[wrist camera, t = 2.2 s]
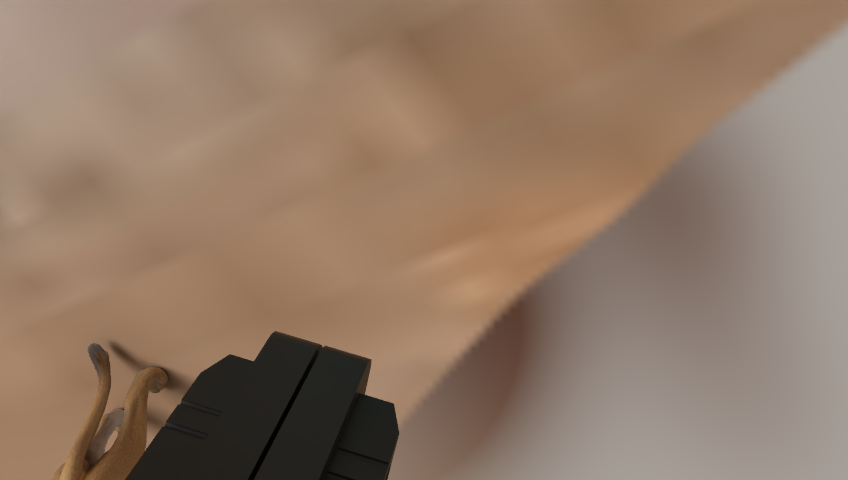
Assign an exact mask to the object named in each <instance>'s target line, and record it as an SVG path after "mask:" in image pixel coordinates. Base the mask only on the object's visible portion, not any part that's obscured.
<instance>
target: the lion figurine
mask: <svg viewBox="0 0 848 480" xmlns="http://www.w3.org/2000/svg"><path fill="white" fill-rule="evenodd" d="M88 353H89V355H90V358H91V360H92V362H93V364H94V366H95V369H96V371H97V373H98V377H99V388H98V393H97V395H96V398H95V401H94V403H93V405H92V408H91V410H90V412H89V415H88V417H87V419H86V421H85V423H84V425H83V427H82V429H81V431H80V433H79V435H78V437H77V438H76V440H75V443H74V445H73V447H72V449H71V451H70V454H69V456H68V459H67V461H66V462H65V463H64V464H63V465H61V466H60V467H59V469H58V470H57V472H56V473H55V475H54V476H53V478H52V480H125V479H126V477H127V476H128V475H129V473H130V472H131V470H132V469H133V468H134V466H135V465H136V463H137V462H138V461H139V459H140V458H141V456H142V455H143V453H144V451H145V447H146V436H147V428H146V425H147V414H146V411H147V399H148V392H149V391H150V392H152V393H158V392H159V391H160V390H162V389H163V388H164V387H165V386H166V383H167V381H168V377H167V375H166V373H165V372H164V371H163V370H162V369H160V368H157V367H149V368H145V369H143V370H141V371H140V372H139V373H138V374H137V375H136V377H135V379H134V381H133V383H132V385H131V387H130V390H129V392H128V393H127V396H126V398H125V401H124V410H122V409H113V410H112V411H111V412H110V413H108V414H105V415H104V416H103V417H102V415H103V413H104V410H105V407H106V403H107V400H108V396H109V392H110V388H111V375H110V362H109V356H108V352H106V351H104V350H103V349H102V347H101V346H100V345H98V344H96V343H93V344H90V345H89V347H88ZM114 430H115V431H117V432H119V433H118V436H117V438H116V440H115V442H114V444H113V446H112V447H111V449H110V450H109V451H107V452H106V453H104V452H105V447H106V443H107V441H108V439H109V437H110V435H111V434H112V433H113V431H114Z"/></svg>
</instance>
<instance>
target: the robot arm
mask: <svg viewBox="0 0 848 480" xmlns="http://www.w3.org/2000/svg"><path fill="white" fill-rule="evenodd" d="M370 368H371V359H368V358H365V357H361V356H358V355H355V354H351V353H348V352H345V351H341V350H338V349H335V348H331V347H328V346H324V347H323V348H322V345H320V344H317V343H314V342H310V341H307V340H304V339H300V338H297V337H294V336H290V335H287V334H284V333H280V332H277V331H275V332H273V333H272V334H271V336H270V337H269V339H268V340H267V342H266V343H265V345H264V347H263V348H262V350H261V351H260V353H259V354H258V356H257V358H256V359H255V361H250V360H247V359H244V358H241V357H237V356H234V355H231V354H230V355H228V356H226V357H225V358H223V359H222V360H220V361H219V362H217V363H215V364H214V365H212V366H211V367H209V368H208V369H206V370H204V371H203V372H201V373H200V374H199V376H198V377H197V379H196V380H195V382H194V383H193V384H192V386H191V387H190V389H189V390H188V391H187V393H186V394H185V396H184V397H183V398H182V401H181V404H180V405H178V406H177V407H176V408H175V410H174V411H173V413H172V414H171V415H170V417H169V418H168V420H167V421H166V425H165V427H162V428H161V429H160V431H159V432H158V434H157V435H156V437H155V438H154V439H153V441H152V442H151V444H150V445H149V446H148V448H147V449H146V451H145V452H144V453H143V455H142V456H141V458H140V459H139V461H138V462H137V463H136V465H135V466H134V468H133V469H132V470H131V472H130V473H129V475H128V476H127V477H126V479H125V480H387V479H388V475H389V471H390V466H391V463H392V459H393V455H394V452H395V447H396V444H397V440H398V436H399V430H398V424H397V419H396V413H395V408H394V404H393V403H390V402H387V401H383V400H380V399H377V398H373V397H370V396H367V395H365V391H366V386H367V382H368V377H369V372H370Z"/></svg>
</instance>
